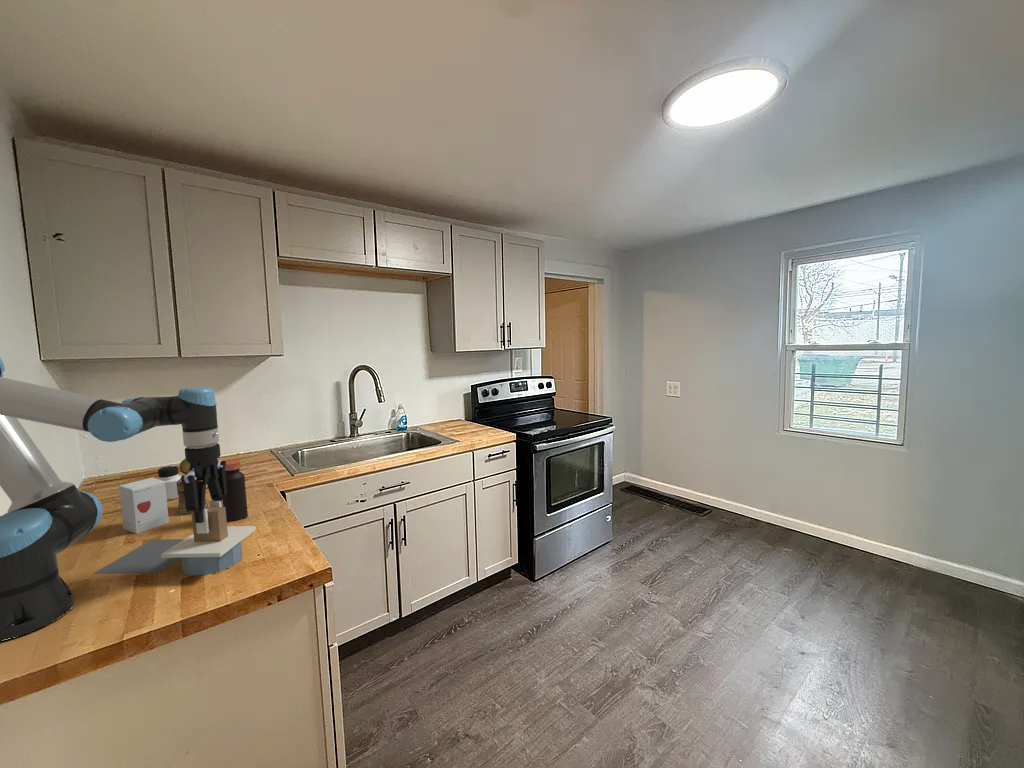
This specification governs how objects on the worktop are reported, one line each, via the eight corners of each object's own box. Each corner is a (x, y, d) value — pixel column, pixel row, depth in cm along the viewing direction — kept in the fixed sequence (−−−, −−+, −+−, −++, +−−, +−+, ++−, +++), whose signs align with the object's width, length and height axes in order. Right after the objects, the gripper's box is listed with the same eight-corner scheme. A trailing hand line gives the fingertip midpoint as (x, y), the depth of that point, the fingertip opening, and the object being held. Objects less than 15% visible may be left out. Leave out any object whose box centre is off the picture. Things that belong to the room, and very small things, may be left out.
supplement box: (136, 535, 129) (130, 490, 127) (122, 529, 133) (117, 485, 131) (170, 523, 137) (165, 480, 135) (156, 518, 141) (152, 476, 139)
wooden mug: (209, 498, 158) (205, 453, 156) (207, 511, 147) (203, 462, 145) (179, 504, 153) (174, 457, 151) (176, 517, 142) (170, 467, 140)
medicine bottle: (178, 498, 158) (175, 468, 157) (155, 501, 156) (152, 470, 154) (185, 492, 165) (182, 463, 164) (163, 494, 162) (160, 465, 161)
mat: (162, 574, 108) (162, 572, 107) (92, 575, 107) (92, 573, 107) (211, 540, 125) (210, 538, 125) (151, 541, 125) (151, 539, 125)
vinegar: (236, 523, 136) (230, 466, 134) (219, 522, 138) (213, 464, 135) (252, 515, 143) (248, 459, 141) (236, 513, 144) (231, 458, 142)
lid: (220, 556, 105) (217, 521, 104) (161, 557, 104) (157, 522, 103) (255, 529, 120) (253, 498, 118) (204, 530, 119) (201, 498, 118)
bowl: (221, 576, 106) (219, 554, 106) (171, 577, 106) (168, 555, 105) (252, 550, 119) (250, 530, 119) (207, 551, 119) (205, 531, 118)
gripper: (191, 454, 100) (200, 544, 103) (238, 436, 118) (244, 513, 120) (160, 454, 100) (170, 544, 103) (211, 436, 118) (219, 514, 120)
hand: (210, 527), depth 111 cm, fingers open, 5 cm apart
